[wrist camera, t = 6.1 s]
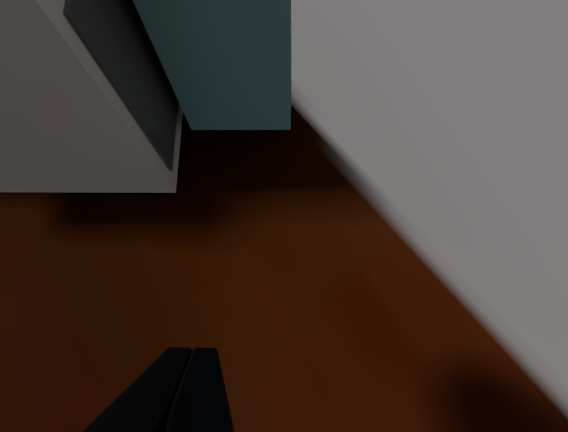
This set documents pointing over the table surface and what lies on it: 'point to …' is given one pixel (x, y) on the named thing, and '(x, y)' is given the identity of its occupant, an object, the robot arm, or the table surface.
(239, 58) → the side door
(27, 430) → the table surface
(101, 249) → the table surface
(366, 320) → the table surface
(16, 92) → the camera body
